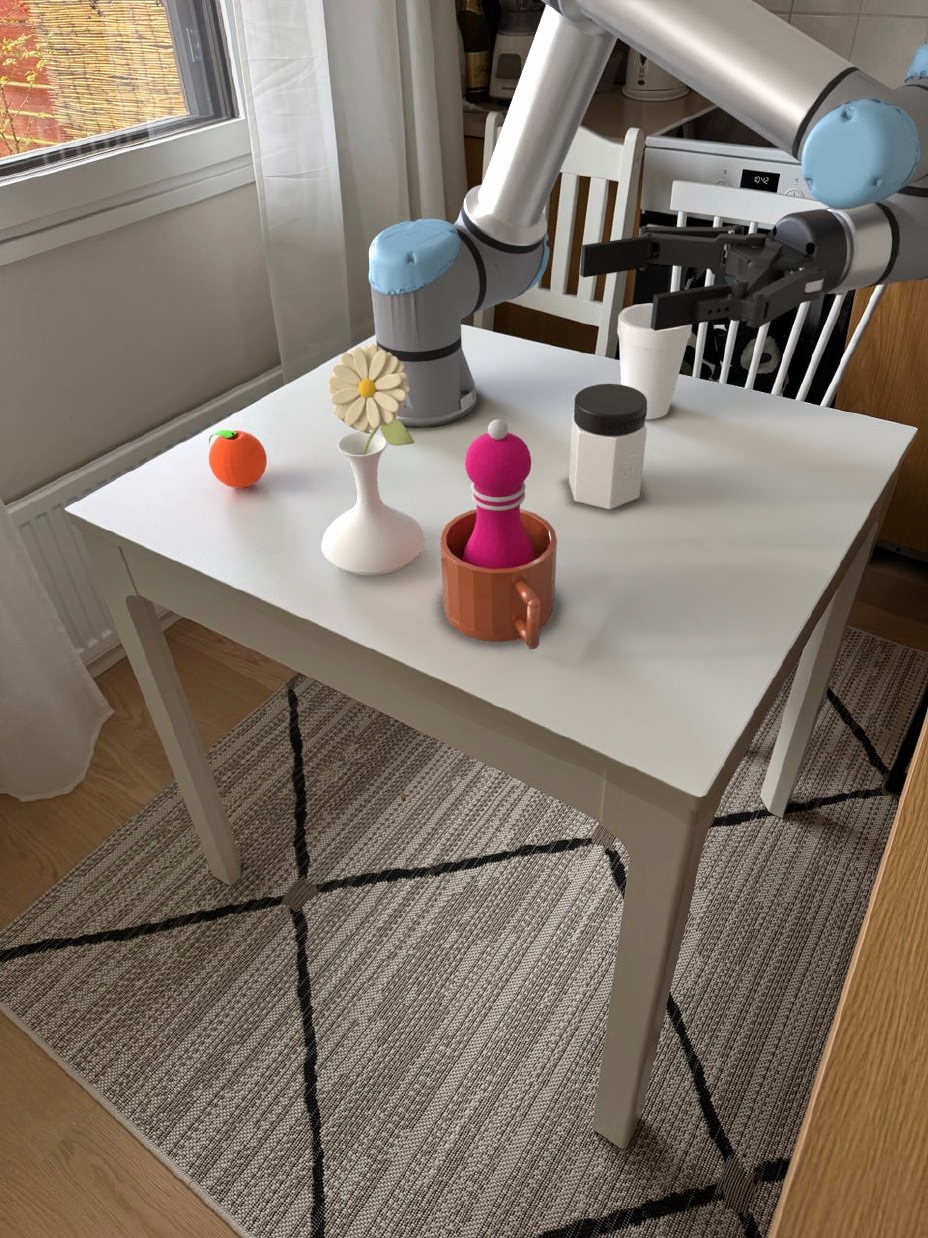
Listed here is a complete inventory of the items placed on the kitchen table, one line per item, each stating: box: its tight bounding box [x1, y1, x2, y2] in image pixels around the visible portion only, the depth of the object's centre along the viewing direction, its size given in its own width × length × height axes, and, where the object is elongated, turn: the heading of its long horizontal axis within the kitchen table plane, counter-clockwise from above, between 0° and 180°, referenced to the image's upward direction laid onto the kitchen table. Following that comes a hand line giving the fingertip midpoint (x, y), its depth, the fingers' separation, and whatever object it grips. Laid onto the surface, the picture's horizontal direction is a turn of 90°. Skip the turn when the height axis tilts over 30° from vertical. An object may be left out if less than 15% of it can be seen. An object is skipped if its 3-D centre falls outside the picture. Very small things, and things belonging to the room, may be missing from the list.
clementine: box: [208, 429, 268, 489], centre depth 111 cm, size 8×7×7 cm
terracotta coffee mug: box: [439, 508, 558, 650], centre depth 89 cm, size 15×11×8 cm
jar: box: [568, 383, 648, 510], centre depth 106 cm, size 9×8×12 cm
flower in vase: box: [321, 343, 426, 576], centre depth 92 cm, size 13×11×25 cm
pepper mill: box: [463, 419, 535, 569], centre depth 86 cm, size 7×7×20 cm
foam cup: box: [616, 302, 693, 420], centre depth 121 cm, size 10×9×13 cm
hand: (615, 285), depth 78 cm, fingers open, 13 cm apart
